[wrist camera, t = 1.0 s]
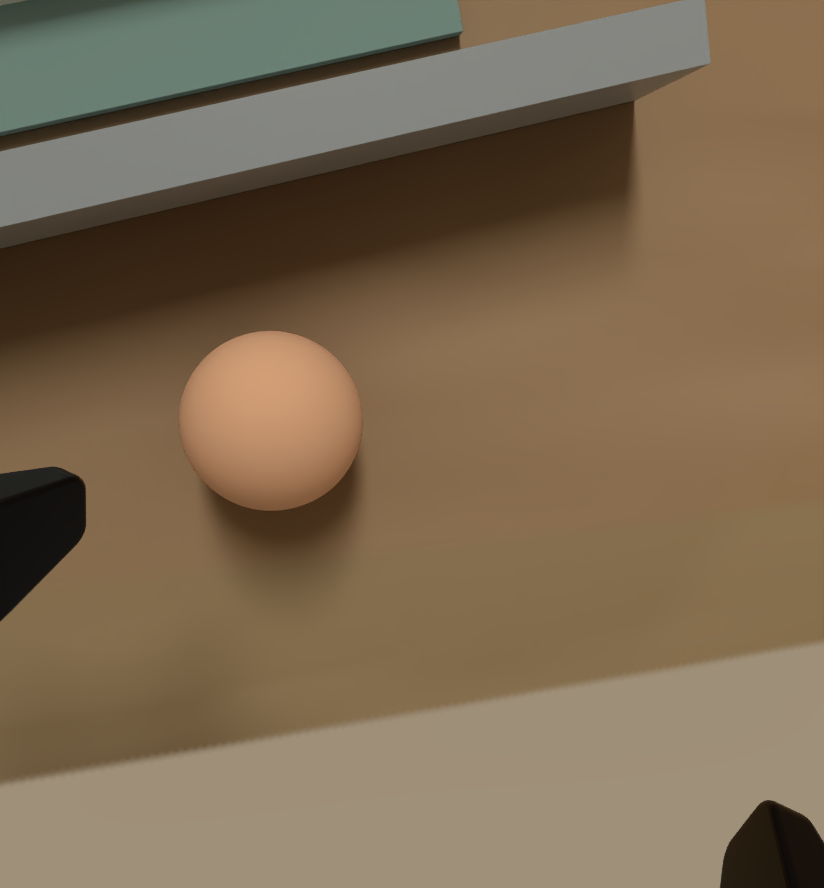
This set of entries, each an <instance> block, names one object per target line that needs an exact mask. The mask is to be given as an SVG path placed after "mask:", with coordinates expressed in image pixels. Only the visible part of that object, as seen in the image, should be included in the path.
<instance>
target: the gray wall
mask: <svg viewBox="0 0 824 888" xmlns="http://www.w3.org/2000/svg"><path fill="white" fill-rule="evenodd" d="M710 63H711V62H710V51H709V41H708V30H707V19H706V8H705V0H682V1H678V2H673V3H669V4H664V5H660V6H655V7H651V8H646V9H642V10H637V11H633V12H628V13H623V14H619V15H614V16H610V17H605V18H601V19H596V20H592V21H587V22H583V23H578V24H574V25H569V26H565V27H560V28H556V29H551V30H547V31H542V32H538V33H533V34H529V35H524V36H520V37H515V38H511V39H506V40H502V41H497V42H492V43H488V44H483V45H479V46H474V47H470V48H465V49H461V50H456V51H452V52H447V53H443V54H438V55H434V56H429V57H425V58H420V59H416V60H411V61H407V62H402V63H398V64H393V65H389V66H384V67H380V68H375V69H370V70H366V71H361V72H357V73H352V74H348V75H343V76H339V77H334V78H330V79H325V80H321V81H316V82H312V83H307V84H303V85H298V86H294V87H289V88H285V89H280V90H276V91H271V92H267V93H262V94H258V95H253V96H249V97H244V98H239V99H235V100H230V101H226V102H221V103H217V104H212V105H208V106H203V107H199V108H194V109H190V110H185V111H181V112H176V113H172V114H167V115H163V116H158V117H154V118H149V119H145V120H140V121H136V122H131V123H127V124H122V125H118V126H113V127H108V128H104V129H99V130H95V131H90V132H86V133H81V134H77V135H72V136H68V137H63V138H59V139H54V140H50V141H45V142H41V143H36V144H32V145H27V146H23V147H18V148H14V149H9V150H5V151H0V249H1V248H5V247H10V246H14V245H18V244H22V243H27V242H31V241H35V240H40V239H44V238H48V237H52V236H57V235H61V234H65V233H70V232H74V231H78V230H82V229H87V228H91V227H95V226H100V225H104V224H108V223H112V222H117V221H121V220H125V219H130V218H134V217H138V216H142V215H147V214H151V213H155V212H160V211H164V210H168V209H172V208H177V207H181V206H185V205H190V204H194V203H198V202H202V201H207V200H211V199H215V198H220V197H224V196H228V195H232V194H237V193H241V192H245V191H249V190H254V189H258V188H262V187H267V186H271V185H275V184H279V183H284V182H288V181H292V180H297V179H301V178H305V177H309V176H314V175H318V174H322V173H327V172H331V171H335V170H339V169H344V168H348V167H352V166H357V165H361V164H365V163H369V162H374V161H378V160H382V159H387V158H391V157H395V156H399V155H404V154H408V153H412V152H417V151H421V150H425V149H429V148H434V147H438V146H442V145H447V144H451V143H455V142H459V141H464V140H468V139H472V138H477V137H481V136H485V135H489V134H494V133H498V132H502V131H507V130H511V129H515V128H519V127H524V126H528V125H532V124H537V123H541V122H545V121H549V120H554V119H558V118H562V117H566V116H571V115H575V114H579V113H584V112H588V111H592V110H596V109H601V108H605V107H609V106H614V105H618V104H622V103H626V102H631V101H635V100H637V99H639V98H641V97H643V96H645V95H647V94H649V93H651V92H653V91H655V90H657V89H659V88H661V87H663V86H665V85H667V84H670V83H672V82H674V81H676V80H678V79H680V78H682V77H684V76H686V75H688V74H690V73H692V72H694V71H696V70H698V69H700V68H702V67H704V66H706V65H708V64H710Z"/></svg>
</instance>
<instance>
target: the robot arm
mask: <svg viewBox="0 0 824 888" xmlns="http://www.w3.org/2000/svg"><path fill="white" fill-rule="evenodd" d="M85 528H86V488H85V483H84V481H83V479H81V478H80V477H79V476H77V475H75V474H73V473H70V472H68V471H66V470H64V469H62V468H58V467H46V468H39V469H32V470H24V471H17V472H10V473H3V474H0V621H1V620H2V619H3V618H4V617H5V616H6V615H7V614H9V613H10V612H11V611H12V610H13V609H14V608H15V607H16V606H17V605H18V604H19V602H20V601H21V600H22V599H23V598H24V597H25V596H26V595H27V594H28V593H29V592H30V591H31V590H32V589H33V588H34V587H35V586H36V585H37V584H38V583H39V582H40V581H41V580H42V579H43V578H44V577H45V576H46V575H47V574H48V573H49V572H50V571H51V570H52V569H53V568H54V567H55V566H56V565H57V564H58V563H59V562H60V561H61V560H62V559H63V558H64V557H65V556H66V555H67V554H68V553H69V552H70V551H71V550H72V549H73V548H74V547H75V546H76V545H77V543H78V542H79V541H80V539H81V538H82V536H83V534H84V532H85ZM720 888H824V842H823V840H822V839H821V837H820V835H819V834H818V832H817V831H816V829H815V827H814V826H813V824H812V823H811V822H810V820H809V819H808V818H806V817H805V816H803V815H802V814H800V813H798V812H796V811H794V810H791V809H790V808H787V807H785V806H783V805H781V804H779V803H777V802H775V801H770V800H767V801H763V802H762V803H760V804H759V805H758V806H757V808H756V809H755V810H754V811H753V813H752V814H751V815H750V816H749V818H748V819H747V820H746V822H745V823H744V824H743V825H742V827H741V828H740V829H739V831H738V832H737V833H736V834H735V836H734V837H733V838H732V840H731V841H730V843H729V845H728V847H727V849H726V852H725V856H724V860H723V867H722V875H721V884H720Z"/></svg>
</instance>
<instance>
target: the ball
mask: <svg viewBox="0 0 824 888" xmlns="http://www.w3.org/2000/svg"><path fill="white" fill-rule="evenodd" d="M362 425H363V420H362V408H361V403H360V398H359V395H358V392H357V389H356V386H355V384H354V382H353V380H352V378H351V377H350V375H349V374H348V372H347V371H346V369H345V368H344V366H343V365H342V364H341V363H340V362H339V361H338V360H337V358H335V357H334V356H333V355H332V354H331V353H330V352H329V351H328V350H326V349H325V348H323V347H322V346H320V345H319V344H317V343H315V342H313V341H311V340H309V339H307V338H305V337H302V336H299V335H296V334H292V333H287V332H281V331H259V332H254V333H248V334H245V335H242V336H239V337H236V338H233V339H231V340H229V341H227V342H225V343H223V344H222V345H220V346H219V347H217V348H216V349H214V350H213V351H212V352H211V353H210V354H208V355H207V356H206V357H205V358H204V359H203V360H202V361H201V363H200V364H199V365H198V366H197V367H196V369H195V370H194V372H193V374H192V375H191V377H190V379H189V381H188V383H187V385H186V387H185V389H184V392H183V396H182V399H181V404H180V410H179V428H180V436H181V441H182V445H183V448H184V451H185V454H186V456H187V458H188V461H189V462H190V464H191V466H192V467H193V469H194V471H195V472H196V473H197V474H198V476H199V477H200V478H201V479H202V481H204V482H205V483H206V484H207V485H208V486H209V487H210V488H211V489H212V490H213V491H215V492H216V493H217V494H219V495H220V496H222V497H224V498H225V499H227V500H229V501H231V502H233V503H235V504H238V505H240V506H243V507H247V508H251V509H256V510H263V511H278V510H287V509H291V508H296V507H299V506H302V505H305V504H308V503H310V502H312V501H314V500H316V499H318V498H319V497H321V496H322V495H324V494H325V493H327V492H328V491H329V490H331V489H332V488H333V487H334V486H335V485H336V484H337V483H338V482H339V481H340V480H341V479H342V478H343V476H344V475H345V474H346V472H347V471H348V469H349V468H350V466H351V464H352V462H353V460H354V458H355V456H356V454H357V451H358V448H359V445H360V441H361V436H362Z"/></svg>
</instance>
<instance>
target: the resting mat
mask: <svg viewBox="0 0 824 888" xmlns="http://www.w3.org/2000/svg"><path fill="white" fill-rule="evenodd" d="M462 32H463V28H462V23H461V17H460V12H459V6H458V1H457V0H0V136H4V135H8V134H13V133H17V132H22V131H27V130H31V129H36V128H40V127H45V126H49V125H54V124H58V123H63V122H68V121H72V120H77V119H81V118H86V117H90V116H95V115H99V114H104V113H109V112H113V111H118V110H122V109H127V108H131V107H136V106H140V105H145V104H150V103H154V102H159V101H163V100H168V99H172V98H177V97H181V96H186V95H191V94H195V93H200V92H204V91H209V90H213V89H218V88H223V87H227V86H232V85H236V84H241V83H245V82H250V81H254V80H259V79H264V78H268V77H273V76H277V75H282V74H286V73H291V72H295V71H300V70H305V69H309V68H314V67H318V66H323V65H327V64H332V63H336V62H341V61H346V60H350V59H355V58H359V57H364V56H368V55H373V54H377V53H382V52H387V51H391V50H396V49H400V48H405V47H409V46H414V45H418V44H423V43H428V42H432V41H437V40H441V39H446V38H450V37H455V36H459V35H461V33H462Z"/></svg>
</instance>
